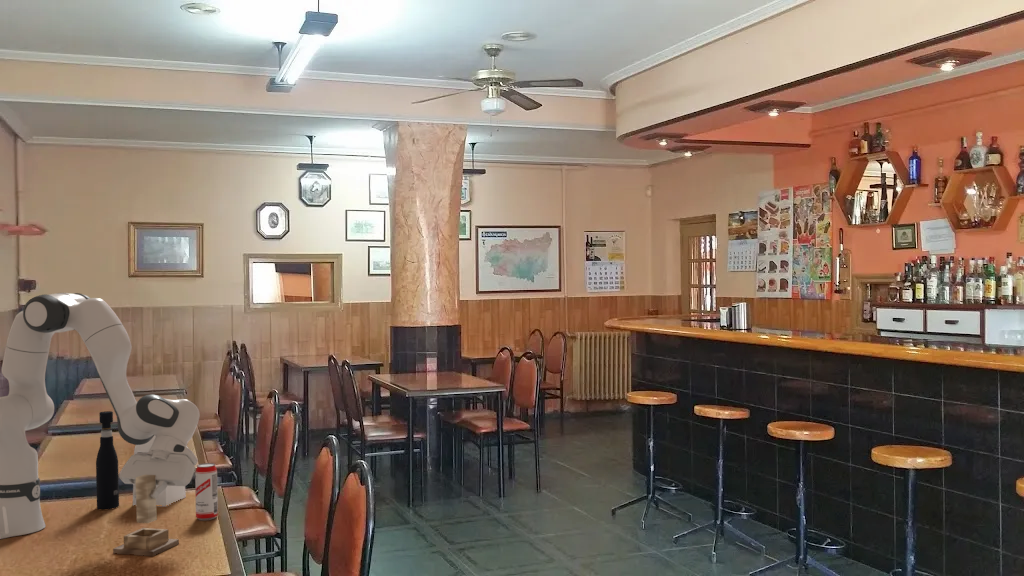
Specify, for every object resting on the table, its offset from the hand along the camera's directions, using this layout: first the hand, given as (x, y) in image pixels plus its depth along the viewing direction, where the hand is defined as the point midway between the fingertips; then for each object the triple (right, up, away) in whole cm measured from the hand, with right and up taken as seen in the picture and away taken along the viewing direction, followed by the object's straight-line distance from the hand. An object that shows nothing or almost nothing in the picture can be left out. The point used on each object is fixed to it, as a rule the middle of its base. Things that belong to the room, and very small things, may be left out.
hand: (144, 497), depth 240 cm
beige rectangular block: (0, -7, +1) cm, 7 cm away
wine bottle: (-30, -14, +45) cm, 56 cm away
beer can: (+6, -13, +31) cm, 34 cm away
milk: (-16, -13, +52) cm, 56 cm away
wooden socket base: (0, -14, +1) cm, 14 cm away
